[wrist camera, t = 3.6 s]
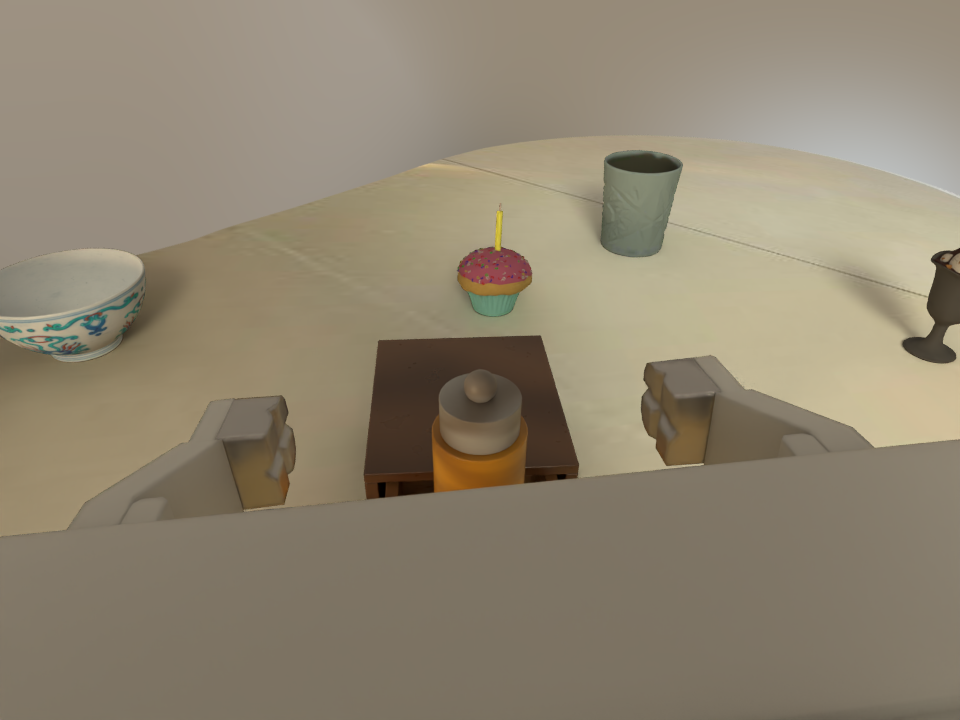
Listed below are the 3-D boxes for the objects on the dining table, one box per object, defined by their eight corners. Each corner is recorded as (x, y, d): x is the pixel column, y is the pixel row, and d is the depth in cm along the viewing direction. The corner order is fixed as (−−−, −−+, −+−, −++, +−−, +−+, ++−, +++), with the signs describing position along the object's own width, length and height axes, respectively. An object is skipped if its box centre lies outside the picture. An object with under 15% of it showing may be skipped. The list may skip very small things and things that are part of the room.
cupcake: (466, 287, 78) (467, 193, 71) (534, 294, 76) (541, 199, 70) (450, 321, 71) (448, 221, 64) (524, 330, 69) (530, 228, 63)
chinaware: (94, 398, 58) (63, 328, 54) (-34, 373, 61) (-73, 304, 57) (193, 319, 70) (175, 257, 66) (82, 302, 73) (58, 241, 69)
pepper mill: (422, 602, 39) (407, 374, 29) (473, 554, 42) (475, 334, 32) (481, 650, 36) (487, 418, 26) (530, 595, 39) (552, 370, 29)
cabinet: (567, 552, 44) (579, 464, 39) (374, 563, 43) (363, 474, 38) (534, 414, 57) (540, 334, 52) (385, 420, 56) (378, 339, 51)
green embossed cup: (672, 238, 91) (688, 155, 84) (658, 265, 83) (675, 177, 77) (604, 226, 94) (615, 146, 88) (585, 251, 87) (595, 166, 80)
